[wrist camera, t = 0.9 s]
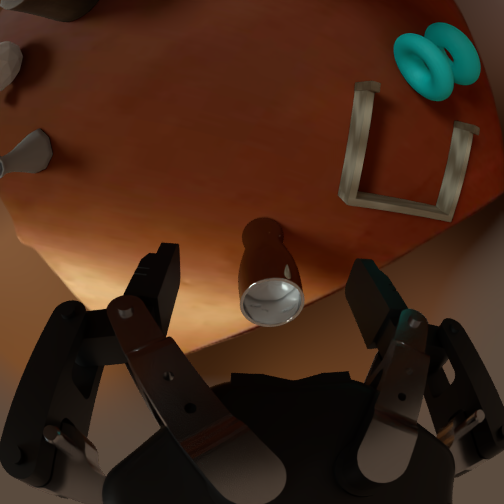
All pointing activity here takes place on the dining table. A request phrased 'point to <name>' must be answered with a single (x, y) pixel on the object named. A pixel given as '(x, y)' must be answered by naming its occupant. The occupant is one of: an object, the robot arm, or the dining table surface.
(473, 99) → the dining table surface
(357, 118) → the box
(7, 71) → the perfume bottle
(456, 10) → the dining table surface
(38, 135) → the flask
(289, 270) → the beer glass
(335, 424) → the robot arm
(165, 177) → the dining table surface
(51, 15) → the pillar candle
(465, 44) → the teal diabolo
